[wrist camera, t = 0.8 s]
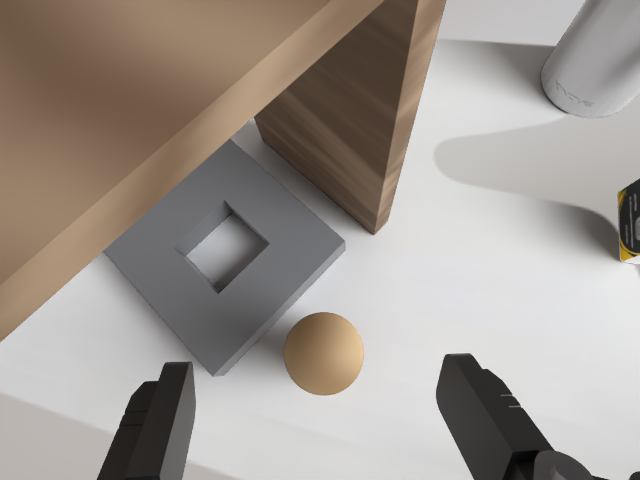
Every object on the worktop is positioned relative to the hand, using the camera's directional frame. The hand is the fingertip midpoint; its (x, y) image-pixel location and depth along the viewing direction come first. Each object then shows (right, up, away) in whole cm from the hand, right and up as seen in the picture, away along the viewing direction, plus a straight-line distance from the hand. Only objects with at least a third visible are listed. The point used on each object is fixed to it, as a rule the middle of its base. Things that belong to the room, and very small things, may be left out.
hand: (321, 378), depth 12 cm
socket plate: (-9, +3, +26) cm, 28 cm away
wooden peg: (+1, -6, +22) cm, 23 cm away
